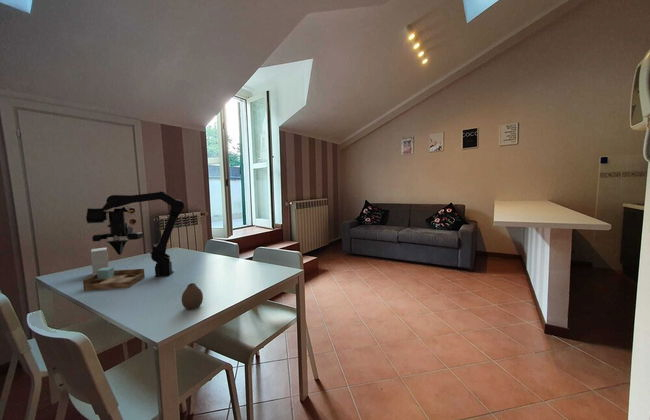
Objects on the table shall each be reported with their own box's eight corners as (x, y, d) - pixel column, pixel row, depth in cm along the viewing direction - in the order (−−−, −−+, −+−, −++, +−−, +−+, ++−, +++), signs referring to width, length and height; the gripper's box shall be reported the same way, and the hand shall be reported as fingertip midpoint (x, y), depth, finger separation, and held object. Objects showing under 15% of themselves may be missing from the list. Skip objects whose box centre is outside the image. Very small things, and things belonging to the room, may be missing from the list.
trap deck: (144, 277, 129) (144, 268, 129) (129, 287, 116) (128, 277, 116) (103, 280, 126) (103, 271, 126) (83, 290, 113) (82, 280, 113)
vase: (187, 304, 98) (185, 281, 97) (206, 303, 99) (204, 280, 98) (178, 312, 91) (176, 288, 91) (199, 311, 92) (197, 287, 91)
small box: (109, 274, 135) (106, 249, 134) (92, 277, 131) (90, 251, 130) (109, 270, 141) (107, 247, 140) (93, 273, 137) (91, 248, 136)
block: (114, 275, 126) (113, 267, 125) (108, 278, 121) (107, 269, 121) (104, 275, 125) (103, 267, 125) (97, 279, 120) (96, 270, 120)
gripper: (147, 219, 131) (150, 249, 133) (106, 220, 128) (108, 251, 130) (135, 221, 120) (138, 254, 122) (89, 223, 117) (93, 257, 119)
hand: (120, 254), depth 123 cm, fingers closed
